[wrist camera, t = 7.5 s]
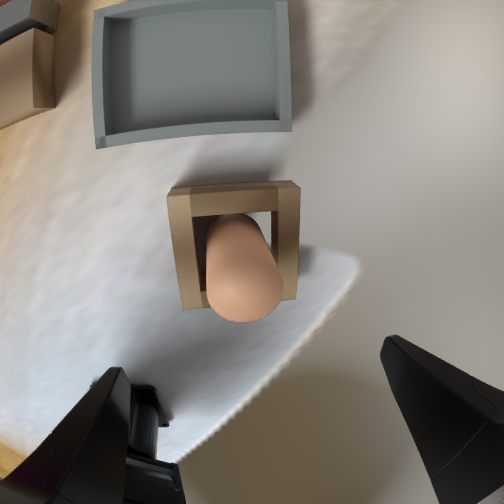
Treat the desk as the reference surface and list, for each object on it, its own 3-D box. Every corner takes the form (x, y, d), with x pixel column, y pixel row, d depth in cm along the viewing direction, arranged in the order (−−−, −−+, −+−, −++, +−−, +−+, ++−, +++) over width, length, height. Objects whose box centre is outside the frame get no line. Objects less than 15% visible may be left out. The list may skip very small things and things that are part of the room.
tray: (282, 130, 16) (291, 131, 14) (108, 145, 15) (95, 149, 13) (278, 5, 13) (286, -8, 11) (106, 20, 11) (94, 10, 10)
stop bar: (56, 29, 11) (28, 16, 8) (-19, 65, 10) (-50, 64, 7) (59, 4, 10) (33, -12, 7) (-17, 42, 9) (-46, 37, 6)
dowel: (262, 261, 19) (282, 318, 14) (209, 265, 19) (210, 325, 14) (261, 210, 18) (284, 253, 13) (204, 214, 18) (202, 260, 12)
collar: (288, 283, 20) (296, 299, 18) (184, 292, 20) (183, 309, 18) (290, 180, 17) (300, 188, 15) (171, 188, 17) (166, 197, 15)
